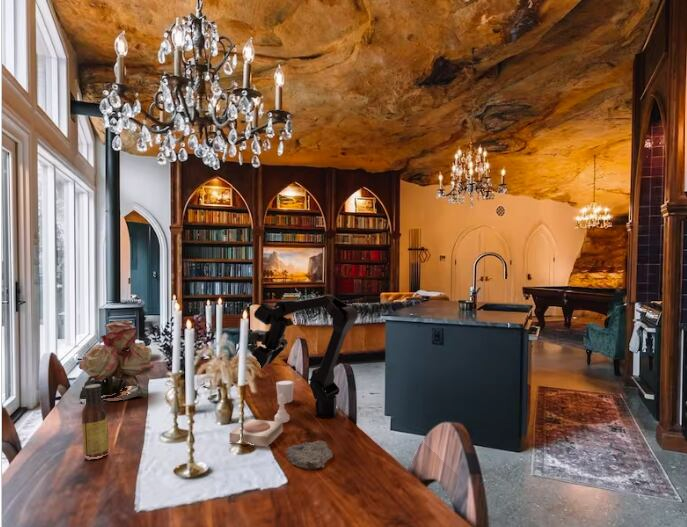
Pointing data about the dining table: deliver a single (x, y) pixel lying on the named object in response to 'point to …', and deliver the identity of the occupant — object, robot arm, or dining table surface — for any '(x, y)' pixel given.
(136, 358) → the rose bouquet
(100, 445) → the sauce bottle
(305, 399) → the dining table surface
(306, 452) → the stone slab
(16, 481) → the dining table surface
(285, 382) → the shot glass
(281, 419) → the chess pawn
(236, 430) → the plinth
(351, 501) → the dining table surface
